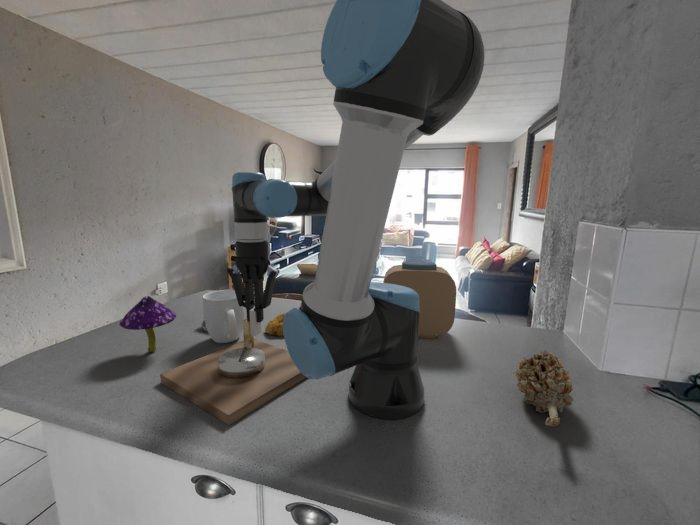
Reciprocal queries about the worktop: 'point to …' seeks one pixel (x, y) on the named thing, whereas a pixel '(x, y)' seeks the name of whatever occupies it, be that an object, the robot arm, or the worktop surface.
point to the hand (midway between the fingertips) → (255, 333)
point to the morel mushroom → (545, 384)
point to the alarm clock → (428, 294)
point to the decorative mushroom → (148, 318)
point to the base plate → (233, 382)
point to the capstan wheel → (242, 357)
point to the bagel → (276, 326)
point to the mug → (223, 315)
